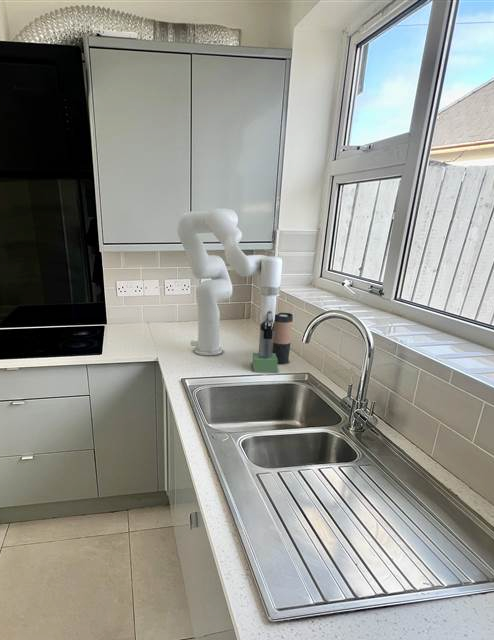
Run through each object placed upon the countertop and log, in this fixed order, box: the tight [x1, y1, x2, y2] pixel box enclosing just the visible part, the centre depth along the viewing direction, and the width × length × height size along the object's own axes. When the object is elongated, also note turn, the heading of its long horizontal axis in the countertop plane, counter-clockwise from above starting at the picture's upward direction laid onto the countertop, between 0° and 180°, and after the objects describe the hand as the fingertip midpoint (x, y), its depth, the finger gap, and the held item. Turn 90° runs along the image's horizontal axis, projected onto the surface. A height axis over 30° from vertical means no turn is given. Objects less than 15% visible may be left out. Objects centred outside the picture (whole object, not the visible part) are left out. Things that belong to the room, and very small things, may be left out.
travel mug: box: [272, 312, 294, 365], centre depth 168 cm, size 8×8×20 cm
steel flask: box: [258, 322, 275, 359], centre depth 159 cm, size 5×5×13 cm
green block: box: [252, 352, 279, 373], centre depth 163 cm, size 9×9×5 cm
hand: (266, 335), depth 159 cm, fingers open, 9 cm apart
